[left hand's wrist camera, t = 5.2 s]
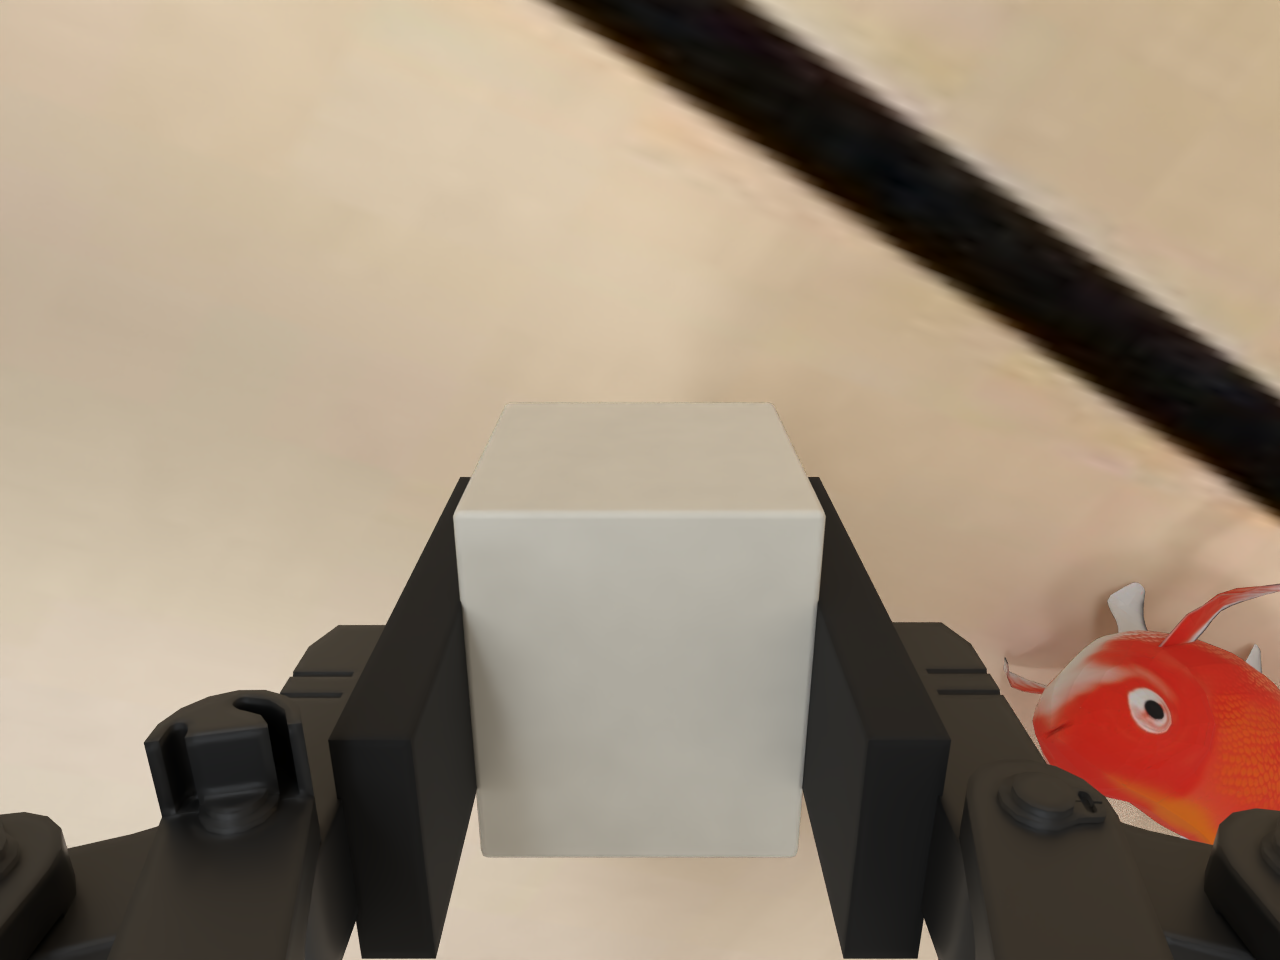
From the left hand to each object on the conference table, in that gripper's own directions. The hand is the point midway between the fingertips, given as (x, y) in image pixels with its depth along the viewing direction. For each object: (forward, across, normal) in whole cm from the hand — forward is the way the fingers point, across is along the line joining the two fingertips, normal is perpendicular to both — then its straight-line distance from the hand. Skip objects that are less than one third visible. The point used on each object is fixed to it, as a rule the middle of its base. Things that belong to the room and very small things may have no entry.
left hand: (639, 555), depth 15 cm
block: (0, 0, 0) cm, 0 cm away
